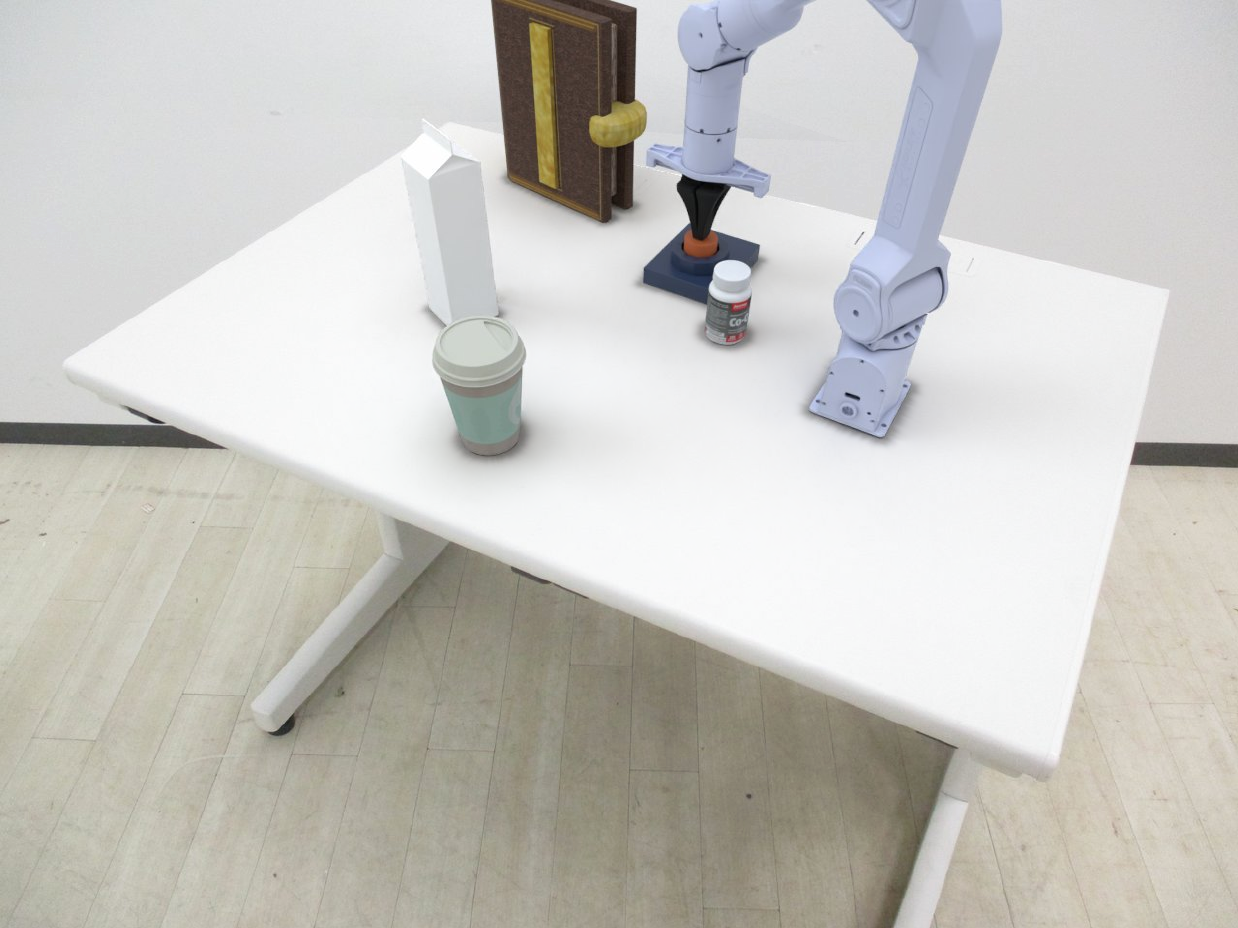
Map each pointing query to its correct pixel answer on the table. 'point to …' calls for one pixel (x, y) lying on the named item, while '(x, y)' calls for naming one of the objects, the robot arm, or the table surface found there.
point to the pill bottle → (728, 302)
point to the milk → (450, 226)
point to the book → (570, 100)
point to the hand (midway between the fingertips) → (701, 235)
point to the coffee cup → (482, 380)
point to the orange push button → (700, 245)
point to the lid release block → (695, 265)
